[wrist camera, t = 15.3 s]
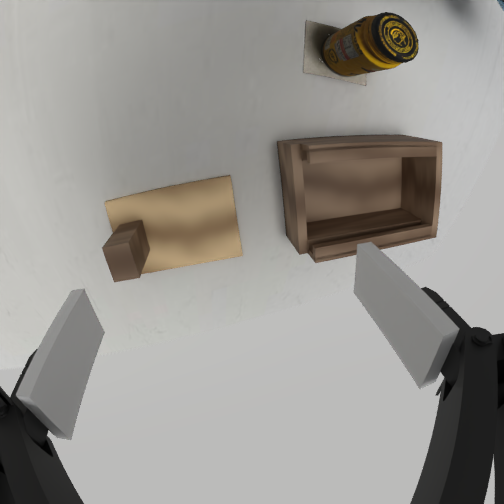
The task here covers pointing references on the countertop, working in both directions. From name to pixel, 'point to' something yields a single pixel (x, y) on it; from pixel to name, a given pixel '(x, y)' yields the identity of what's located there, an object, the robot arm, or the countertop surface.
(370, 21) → the condiment
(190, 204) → the cover plate
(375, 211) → the walnut box
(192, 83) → the countertop surface
